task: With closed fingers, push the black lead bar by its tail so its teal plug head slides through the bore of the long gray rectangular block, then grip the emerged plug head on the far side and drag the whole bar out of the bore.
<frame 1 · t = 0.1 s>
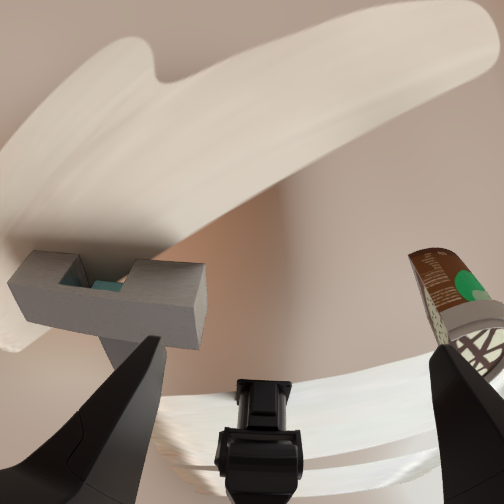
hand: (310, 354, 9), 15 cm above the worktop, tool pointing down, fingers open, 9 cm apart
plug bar: (128, 327, 32), on the worktop
food container: (446, 274, 26), on the worktop
long gray rectangular block: (112, 278, 28), on the worktop
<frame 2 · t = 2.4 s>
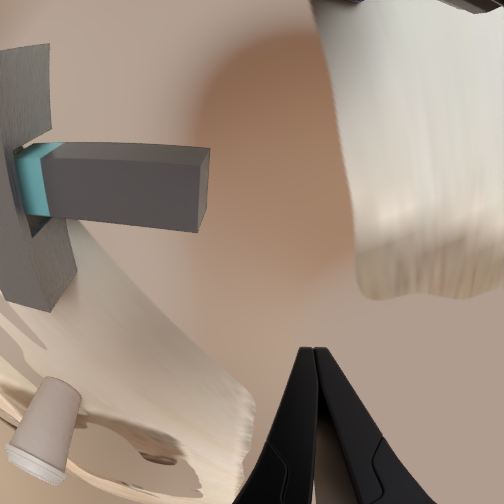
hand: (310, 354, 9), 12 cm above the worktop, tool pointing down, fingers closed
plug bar: (111, 171, 19), on the worktop
coffee cup: (62, 388, 38), on the worktop
long gray rectangular block: (31, 169, 18), on the worktop
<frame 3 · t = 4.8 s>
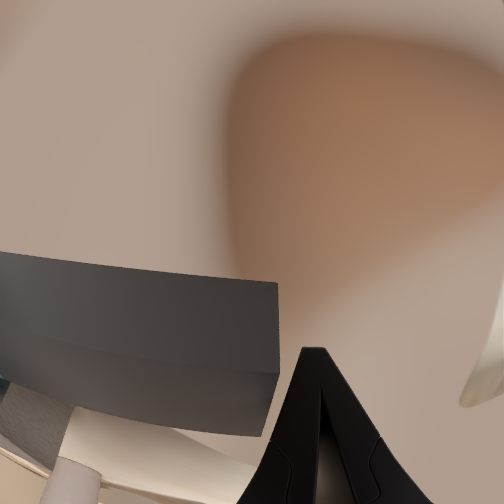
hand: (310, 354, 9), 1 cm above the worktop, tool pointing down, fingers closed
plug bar: (84, 305, 10), on the worktop, touching gripper
coffee cup: (79, 465, 30), on the worktop
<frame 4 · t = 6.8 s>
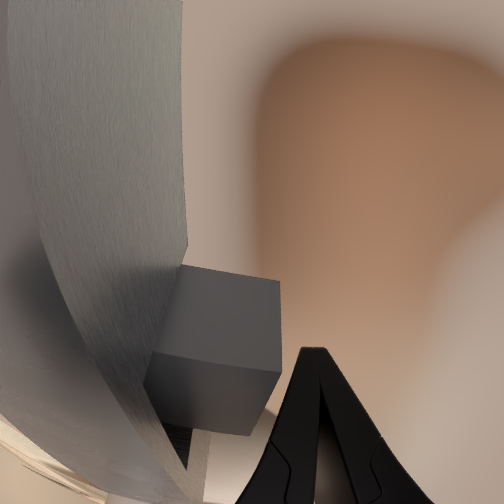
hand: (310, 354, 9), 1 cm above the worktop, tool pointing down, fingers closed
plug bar: (75, 290, 10), on the worktop, touching gripper
coffee cup: (138, 483, 30), on the worktop
long gray rectangular block: (124, 314, 10), on the worktop
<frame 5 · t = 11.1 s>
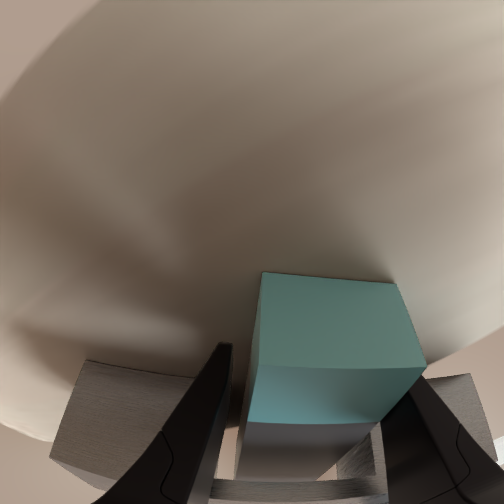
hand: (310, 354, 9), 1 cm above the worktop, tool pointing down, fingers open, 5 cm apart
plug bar: (291, 393, 13), on the worktop, touching gripper
long gray rectangular block: (284, 410, 13), on the worktop
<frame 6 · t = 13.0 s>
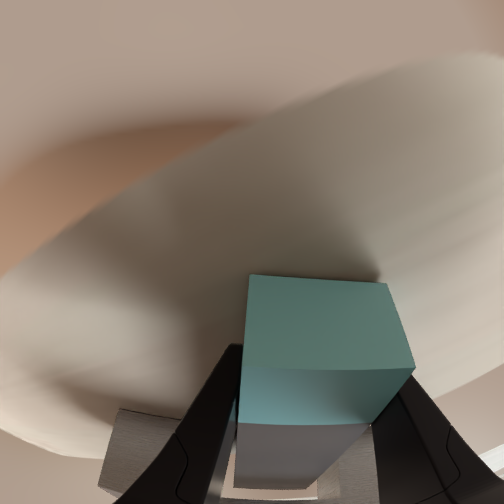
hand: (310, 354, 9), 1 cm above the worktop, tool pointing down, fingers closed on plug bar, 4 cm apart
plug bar: (288, 394, 13), on the worktop, touching gripper
long gray rectangular block: (276, 444, 16), on the worktop
when the fingers open (1 cm above the worktop, at t = 14.8 s): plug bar stays where it is, on the worktop.
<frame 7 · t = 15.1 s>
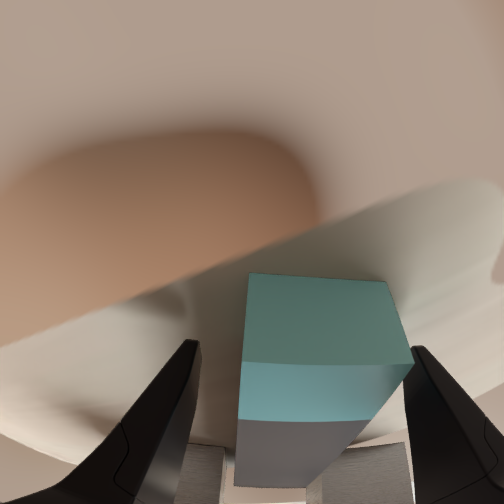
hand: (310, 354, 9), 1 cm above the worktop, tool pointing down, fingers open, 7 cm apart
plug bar: (288, 392, 13), on the worktop
long gray rectangular block: (269, 460, 18), on the worktop
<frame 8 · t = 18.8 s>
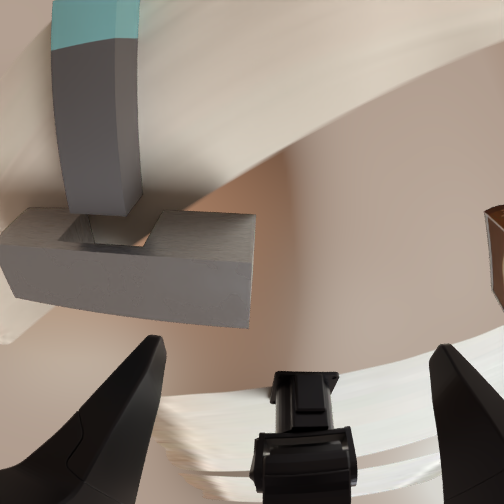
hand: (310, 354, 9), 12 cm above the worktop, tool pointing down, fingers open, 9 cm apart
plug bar: (107, 97, 16), on the worktop
long gray rectangular block: (128, 239, 22), on the worktop
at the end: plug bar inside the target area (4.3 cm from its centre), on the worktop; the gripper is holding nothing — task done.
